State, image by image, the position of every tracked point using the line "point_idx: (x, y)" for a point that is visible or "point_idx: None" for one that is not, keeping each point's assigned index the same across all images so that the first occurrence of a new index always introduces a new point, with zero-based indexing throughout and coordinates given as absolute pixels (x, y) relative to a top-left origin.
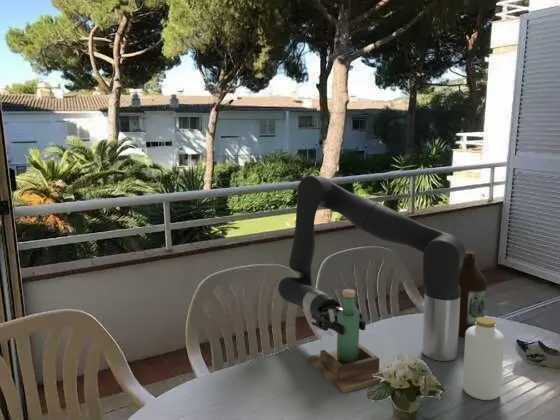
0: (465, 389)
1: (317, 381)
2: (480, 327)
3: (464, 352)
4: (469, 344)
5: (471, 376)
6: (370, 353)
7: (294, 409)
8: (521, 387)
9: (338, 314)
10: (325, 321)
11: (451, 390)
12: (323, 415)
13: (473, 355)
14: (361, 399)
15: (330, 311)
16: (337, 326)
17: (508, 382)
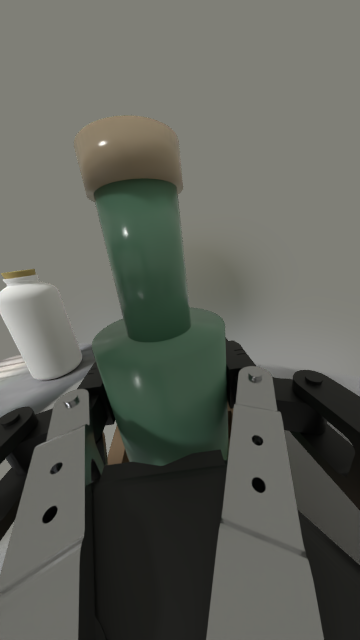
0: (76, 362)
1: (307, 470)
2: (37, 276)
3: (48, 325)
4: (55, 301)
5: (73, 338)
6: (116, 447)
7: (342, 385)
8: (15, 367)
9: (217, 329)
10: (311, 374)
11: (80, 376)
12: (283, 367)
13: (64, 311)
14: None
15: (261, 531)
16: (236, 350)
17: (8, 376)
